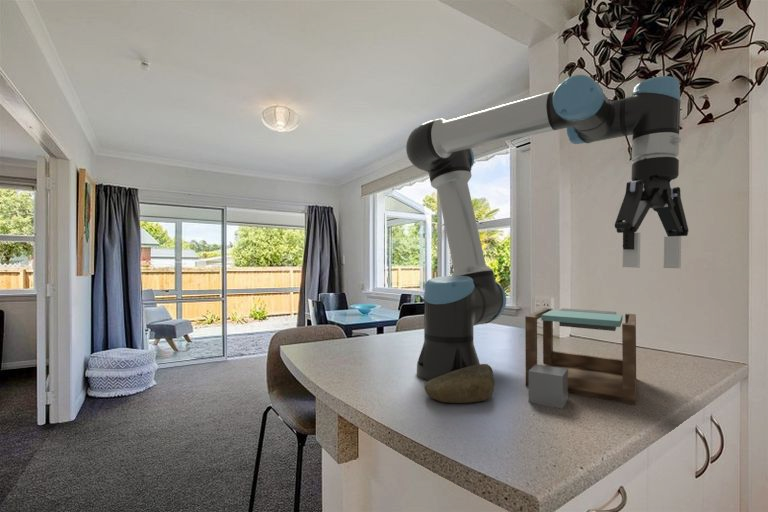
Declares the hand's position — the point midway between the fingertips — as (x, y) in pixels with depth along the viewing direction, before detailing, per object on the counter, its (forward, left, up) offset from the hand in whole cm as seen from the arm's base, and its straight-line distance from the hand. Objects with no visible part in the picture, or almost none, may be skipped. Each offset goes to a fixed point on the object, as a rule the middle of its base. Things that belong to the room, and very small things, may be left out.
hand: (652, 268), depth 73 cm
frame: (-13, +5, -26) cm, 29 cm away
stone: (-31, -21, -26) cm, 46 cm away
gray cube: (-17, -12, -26) cm, 33 cm away
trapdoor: (-13, +9, -15) cm, 21 cm away
